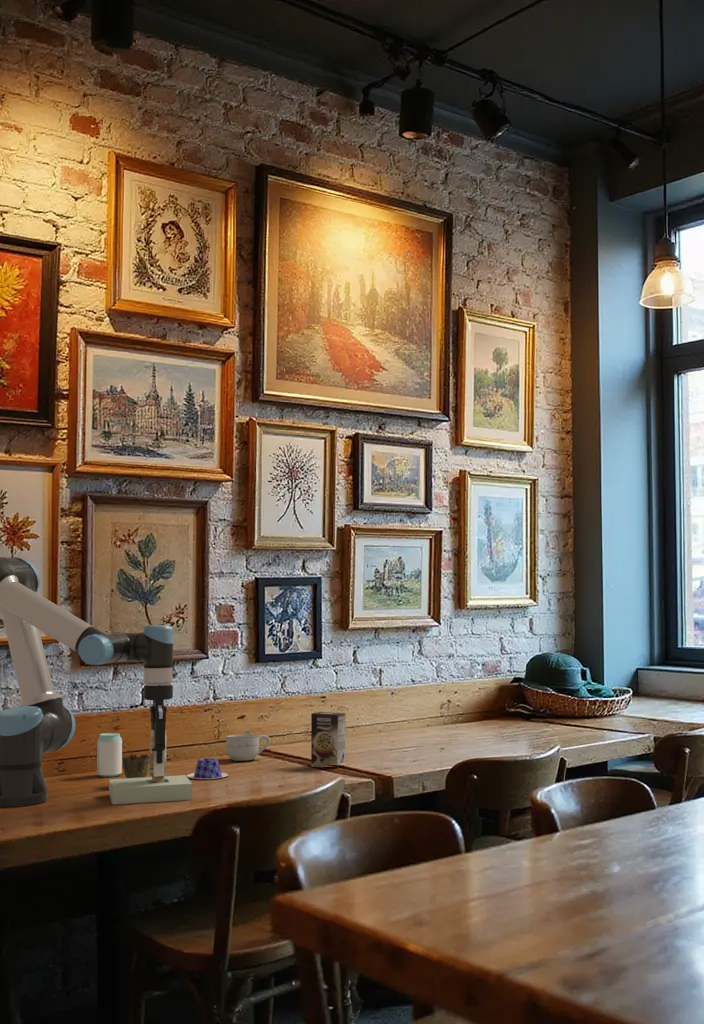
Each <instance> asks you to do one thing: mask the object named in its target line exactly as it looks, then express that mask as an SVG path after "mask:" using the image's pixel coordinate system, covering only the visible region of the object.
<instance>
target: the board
mask: <svg viewBox="0 0 704 1024" xmlns="http://www.w3.org/2000/svg"><path fill="white" fill-rule="evenodd" d="M108 795H109V799H110V801H111V805H124V804H127V805H128V804H142V803H143V804H144V803H161V802H174V801H175V802H177V801H189V800H193V783H192V782H191V780H190V778H189V777H187V775H184V774H183V775H181V774H180V775H165V776H164V783H152V776H147V777H146V776H145V777H143V778H126V777H124V778H112V779H111V778H110V779H108Z"/></svg>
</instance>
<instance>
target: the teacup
mask: <svg viewBox="0 0 704 1024" xmlns="http://www.w3.org/2000/svg"><path fill="white" fill-rule="evenodd" d="M225 739H226V741H225V742H226V746H225V747H226V753H227V754H226V755H227V756H228V757H229V758H230V759H231V760H232V761H234V762H235V761H237V762H241V761H243V762H244V761H253V760H255V758H257V756H258V755H260V754H261V753H262V751H265V749H267V748H268V747H270V743H271V739H270V737H269V736H268V735H265V734H263V735H259V734H258V733H257V734H253V733H251V734H250V733H248V734H244V733H242V734H233V735H226V736H225ZM263 739H265V740H266V744H264V745H263V746H262V747H260V744H261V742H262V740H263Z"/></svg>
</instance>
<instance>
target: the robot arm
mask: <svg viewBox="0 0 704 1024" xmlns="http://www.w3.org/2000/svg"><path fill="white" fill-rule="evenodd" d="M40 576H41V575H40V573H39V570H38V569H37V568H36V566H35V565H34V564H33V563H32V562H31V561H29V560H27V559H23V558H21V557H16V556H11V557H10V556H9V557H8V556H7V557H5V556H0V616H1V618H2V621H3V625H4V630H5V633H6V639H7V643H8V647H9V648H8V649H9V651H10V655H11V659H12V664H13V669H14V671H15V676H16V680H17V685H18V689H19V692H20V697H21V702H20V704H19V705H18V706H15V707H10V708H5V709H3V710H1V711H0V807H2V808H3V807H24V806H31V805H32V806H33V805H37V804H38V805H39V804H41V803H44V802H45V803H46V802H47V801H48V800H49V789H48V787H47V783H46V780H45V777H44V774H43V770H42V757H43V756H42V754H46V753H47V754H48V753H53V752H56V751H58V750H60V749H62V748H63V747H64V748H65V747H66V746H67V745H68V744H69V743H70V741H72V738H73V737H74V735H75V730H76V719H75V716H74V714H73V712H72V711H71V710H70V709H68V708H67V707H66V706H64V701H63V698H62V695H60V694H59V693H56V692H55V690H54V685H53V681H52V677H51V673H50V669H49V664H48V661H47V657H46V653H45V649H44V646H43V641H42V637H41V632H43V633H45V634H46V635H47V636H50V637H52V638H53V639H54V640H56V641H58V642H60V643H61V644H63V646H64V645H65V646H67V647H68V648H69V649H71V650H73V651H74V652H76V653H78V655H79V657H80V659H81V660H82V662H84V663H85V664H87V665H92V666H101V665H102V666H103V665H105V664H111V663H112V664H113V663H121V662H143V683H144V686H143V699H144V700H145V701H146V700H147V701H152V705H151V706H150V707H149V712H150V725H151V726H150V730H154V748H153V749H152V751H154V775H153V776H154V777H156V776H164V749H165V747H166V748H167V744H166V745H165V730H166V720H167V717H166V716H167V715H166V714H167V713H168V712H167V710H168V709H167V706H166V705H165V702H164V701H166V700H171V699H173V698H174V695H173V693H174V685H173V684H171V683H173V682H174V677H173V675H175V674H176V671H175V670H173V667H174V665H173V664H174V663H173V662H174V643H175V642H174V635H173V634H174V633H173V628H172V626H171V625H169V624H151V625H145V626H144V629H143V632H118V631H117V632H115V631H114V632H106V633H105V632H103V631H101V630H99V629H97V628H96V627H94V626H93V625H91V624H89V623H87V622H86V621H85V620H83V619H81V618H79V617H78V616H75V615H74V614H72V613H71V612H69V611H68V610H66V609H64V608H62V607H60V606H59V605H57V604H56V603H54V602H52V600H49V599H47V598H46V597H44V596H42V595H41V594H39V593H38V590H39V588H40V586H41V577H40ZM40 631H41V632H40Z"/></svg>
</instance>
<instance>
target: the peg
mask: <svg viewBox="0 0 704 1024" xmlns="http://www.w3.org/2000/svg"><path fill="white" fill-rule="evenodd" d="M165 745H166V747H165V749H164V776H167V768H168V767H167V729H165ZM153 748H154V730H151V729H150V731H149V777H152V783H164V776H156V777H154V776H153V775H154V751H152V749H153Z"/></svg>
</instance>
